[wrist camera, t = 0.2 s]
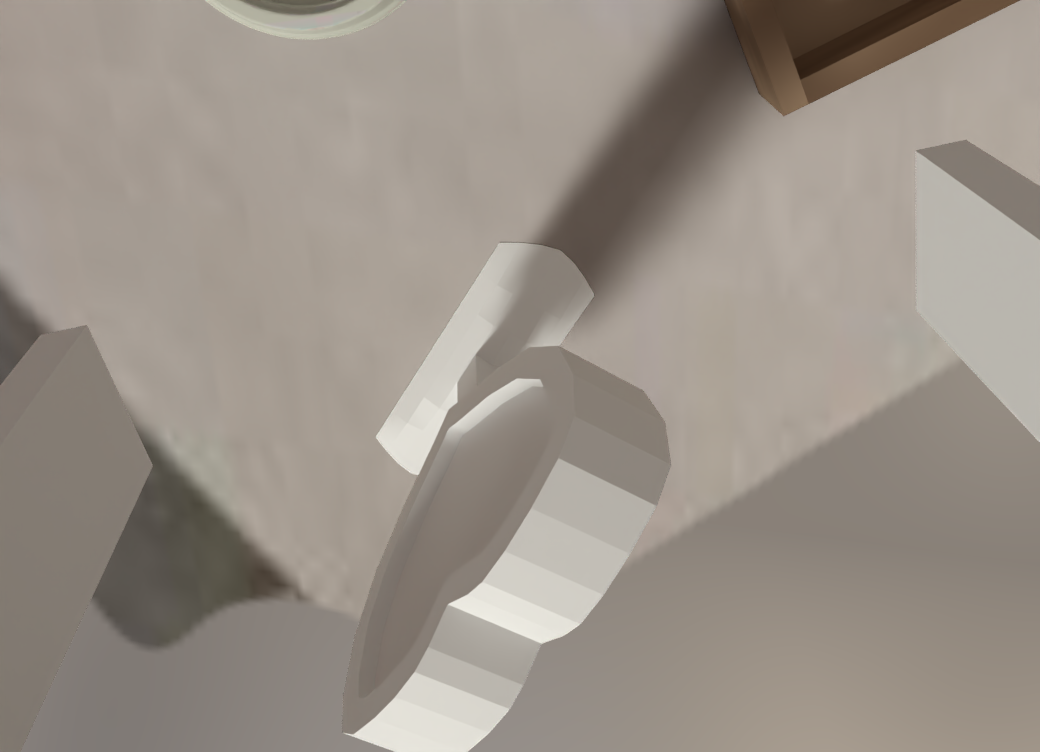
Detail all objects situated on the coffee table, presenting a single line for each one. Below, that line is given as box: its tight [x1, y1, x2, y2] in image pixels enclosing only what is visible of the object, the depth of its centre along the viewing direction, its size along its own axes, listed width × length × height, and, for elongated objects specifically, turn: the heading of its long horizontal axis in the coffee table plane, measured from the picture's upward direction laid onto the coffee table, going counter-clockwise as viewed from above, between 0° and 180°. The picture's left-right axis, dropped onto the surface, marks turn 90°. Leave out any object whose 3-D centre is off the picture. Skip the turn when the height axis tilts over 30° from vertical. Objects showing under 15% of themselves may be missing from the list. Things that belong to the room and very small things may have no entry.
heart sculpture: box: [342, 243, 671, 752], centre depth 39 cm, size 16×5×18 cm, turn 148°
